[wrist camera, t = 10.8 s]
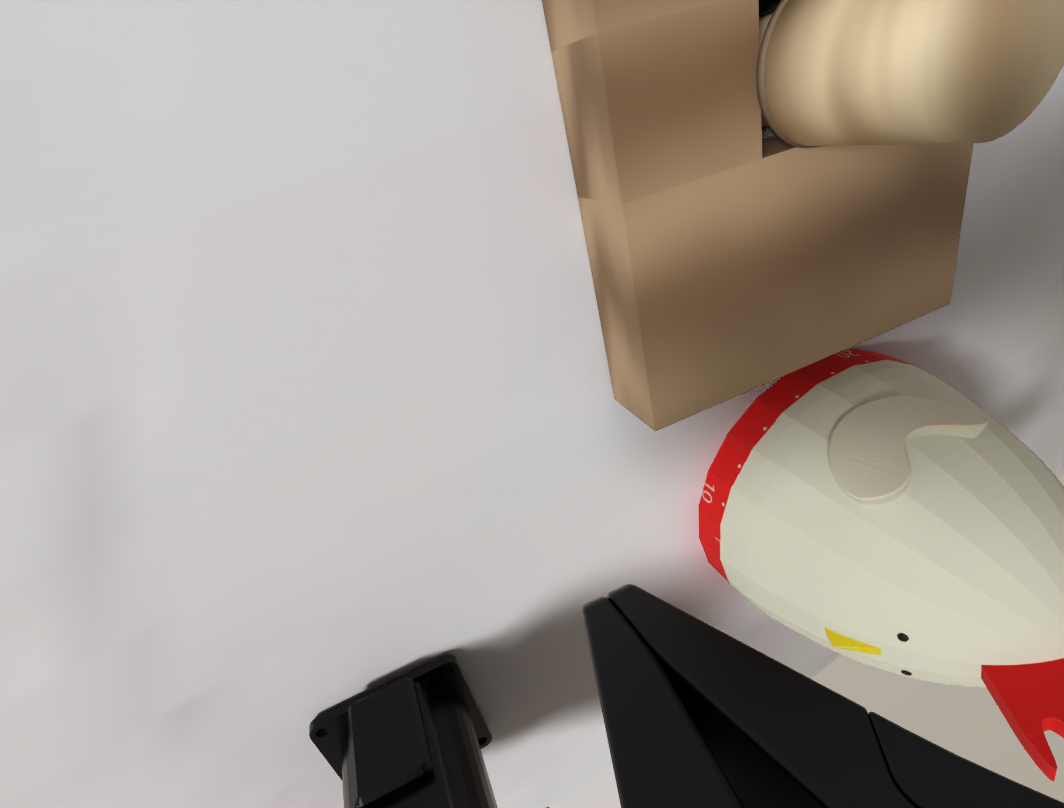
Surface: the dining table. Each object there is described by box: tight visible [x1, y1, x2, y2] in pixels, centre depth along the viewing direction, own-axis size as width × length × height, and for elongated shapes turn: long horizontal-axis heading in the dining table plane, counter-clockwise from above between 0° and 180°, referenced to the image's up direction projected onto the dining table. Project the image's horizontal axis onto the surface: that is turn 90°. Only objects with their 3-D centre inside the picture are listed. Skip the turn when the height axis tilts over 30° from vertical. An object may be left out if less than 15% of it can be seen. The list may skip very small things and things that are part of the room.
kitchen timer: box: [699, 349, 1064, 781], centre depth 22 cm, size 14×14×15 cm
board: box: [542, 0, 973, 431], centre depth 18 cm, size 16×14×3 cm
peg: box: [756, 0, 1064, 148], centre depth 15 cm, size 4×4×8 cm
